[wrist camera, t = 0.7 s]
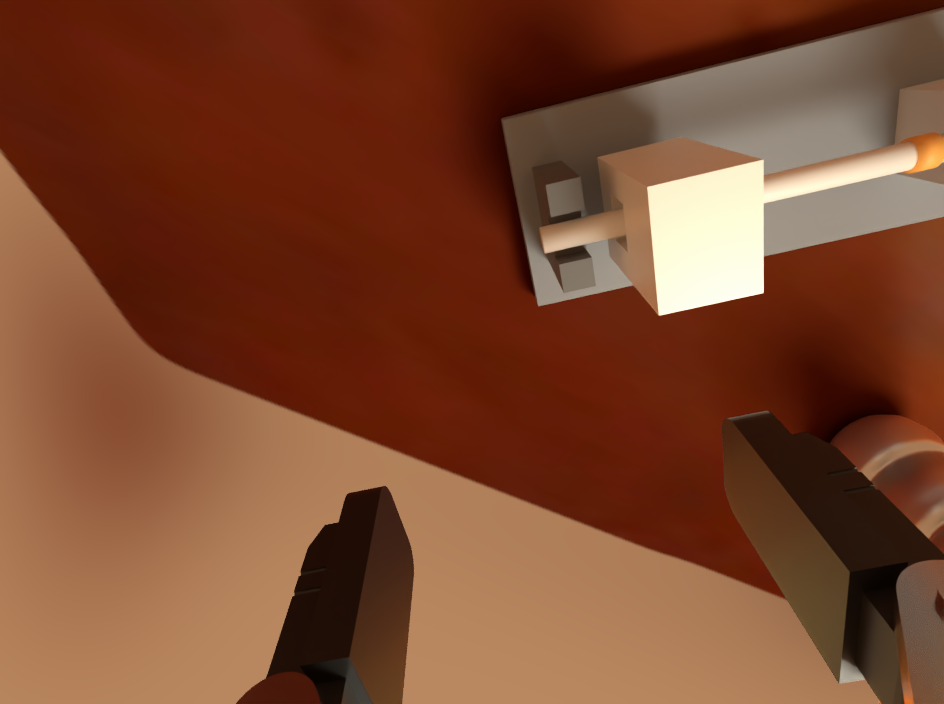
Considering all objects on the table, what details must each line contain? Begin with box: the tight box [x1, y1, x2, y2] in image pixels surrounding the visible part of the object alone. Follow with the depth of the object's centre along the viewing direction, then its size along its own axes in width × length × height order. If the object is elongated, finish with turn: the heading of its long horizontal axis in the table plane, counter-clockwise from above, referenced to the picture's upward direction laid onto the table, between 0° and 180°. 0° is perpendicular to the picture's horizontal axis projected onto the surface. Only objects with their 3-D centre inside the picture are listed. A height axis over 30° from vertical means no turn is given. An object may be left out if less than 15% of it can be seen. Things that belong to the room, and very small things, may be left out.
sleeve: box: [597, 137, 764, 315], centre depth 24 cm, size 5×4×8 cm
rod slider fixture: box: [501, 7, 944, 306], centre depth 26 cm, size 10×22×10 cm, turn 103°
